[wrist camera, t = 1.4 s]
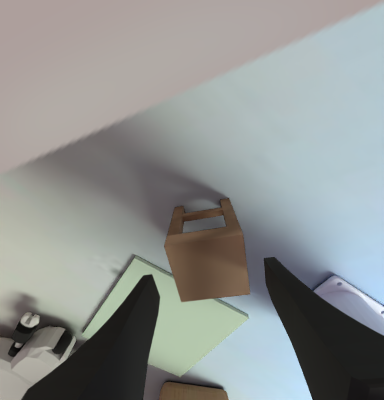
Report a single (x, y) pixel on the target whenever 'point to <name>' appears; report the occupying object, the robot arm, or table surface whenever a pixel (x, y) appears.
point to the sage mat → (173, 320)
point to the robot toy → (30, 355)
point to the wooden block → (190, 392)
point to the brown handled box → (207, 256)
